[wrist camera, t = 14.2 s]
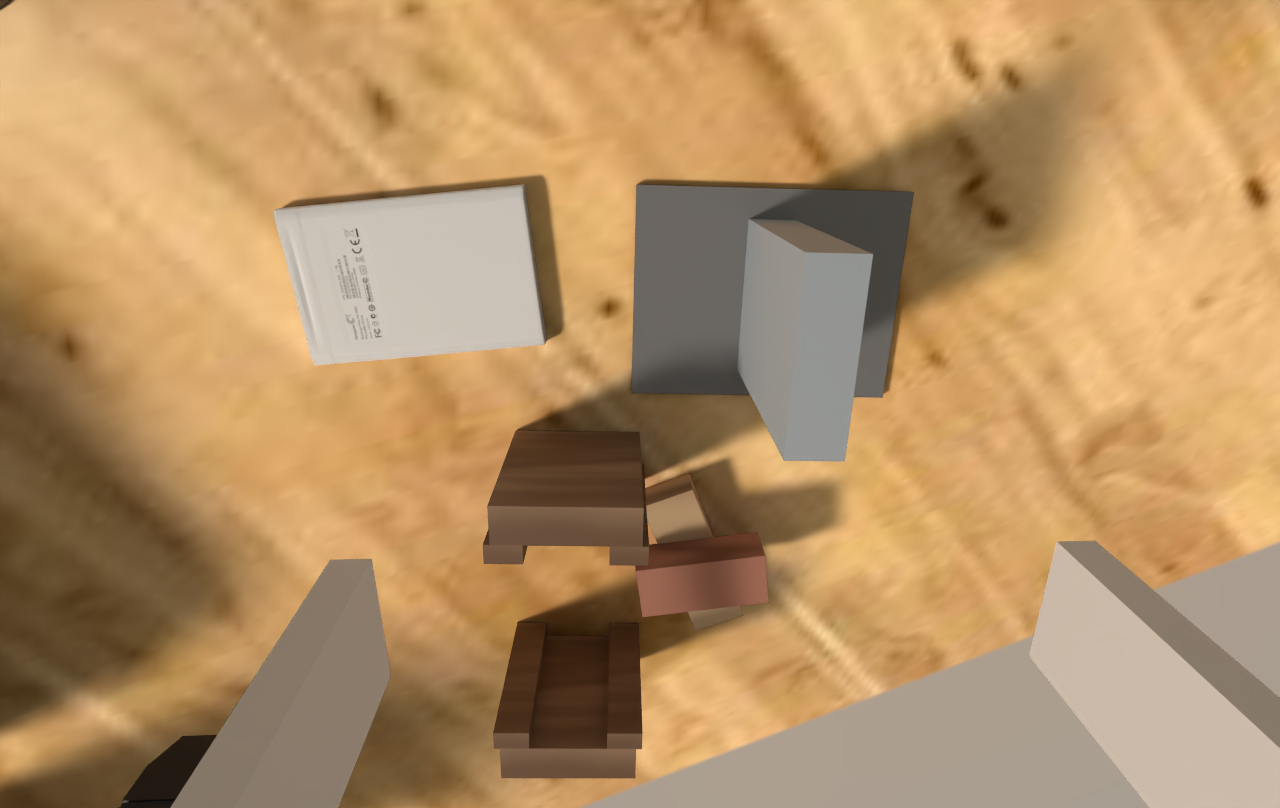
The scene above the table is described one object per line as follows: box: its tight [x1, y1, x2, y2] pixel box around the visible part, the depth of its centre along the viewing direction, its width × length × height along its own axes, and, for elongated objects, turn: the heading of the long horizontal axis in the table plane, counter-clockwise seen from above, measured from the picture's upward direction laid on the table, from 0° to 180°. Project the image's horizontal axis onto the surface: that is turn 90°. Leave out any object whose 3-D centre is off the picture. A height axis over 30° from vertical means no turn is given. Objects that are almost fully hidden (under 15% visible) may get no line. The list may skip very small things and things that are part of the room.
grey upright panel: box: [737, 219, 873, 461], centre depth 32 cm, size 8×2×12 cm, turn 178°
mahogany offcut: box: [636, 532, 769, 617], centre depth 40 cm, size 7×3×2 cm, turn 97°
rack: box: [483, 430, 649, 778], centre depth 39 cm, size 16×8×9 cm, turn 178°
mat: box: [632, 184, 914, 398], centre depth 38 cm, size 11×14×1 cm
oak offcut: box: [645, 473, 743, 631], centre depth 42 cm, size 9×3×2 cm, turn 21°
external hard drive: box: [274, 184, 547, 365], centre depth 37 cm, size 2×8×12 cm
